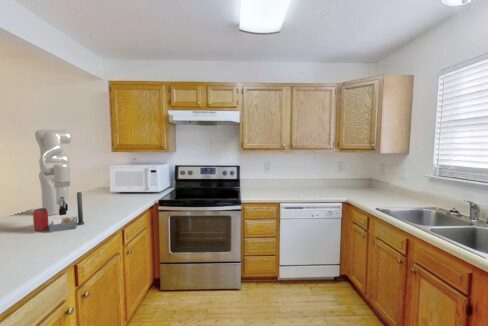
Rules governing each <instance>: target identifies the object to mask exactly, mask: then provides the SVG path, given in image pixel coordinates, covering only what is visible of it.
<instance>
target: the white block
mask: <svg viewBox="0 0 488 326" xmlns="http://www.w3.org/2000/svg"><path fill="white" fill-rule="evenodd" d="M61 218H62V217H61V216H56V217H53V219H52V220H53V225H55V224H60V223H61Z"/></svg>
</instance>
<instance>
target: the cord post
mask: <svg viewBox="0 0 488 326" xmlns="http://www.w3.org/2000/svg"><path fill="white" fill-rule="evenodd" d="M82 195H83V194H82V191H78V192H76V203H77V204H76V205H77V226H82V225H85V221H84V216H83V215H84V214H83V196H82Z"/></svg>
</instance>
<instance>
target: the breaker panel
mask: <svg viewBox="0 0 488 326" xmlns="http://www.w3.org/2000/svg"><path fill="white" fill-rule="evenodd" d="M77 223H78V215H75V216H66V217H61V223H60V224H55V225H53V219H52V221H51V222H50V225H49V232H50V233H54V232H61V231H68V230H75V229H77V226H78V225H77Z"/></svg>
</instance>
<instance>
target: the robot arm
mask: <svg viewBox="0 0 488 326" xmlns="http://www.w3.org/2000/svg"><path fill="white" fill-rule="evenodd" d="M34 137H35V141H36V143H37V144H38V146H39V153H40V154H39V155H40V157H39V160H38V161H39V162H38V164H39V169H40V172H39V173H38V180H39V183H40V188H41V191H40V192H41V201H42V202H41V203H42V204H41V205H42V206H41V207H42V208H46V210H47V211H48V216H53V215H54V216H55V215H59V216H65V215H67V211H69V209H68V208H69V206H68V201H69V187H71V166H70V159H69V156H68V155H67V154H64V153H63V152H64V148H63V144H65V145H67V144H70V143H71V142H72V135H71V133H70V132H69V131H68V130H64V129H63V130H62V129H38V130H36V131H35V132H34Z"/></svg>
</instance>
